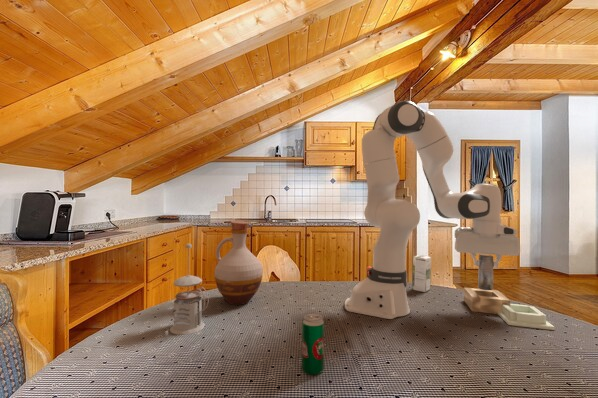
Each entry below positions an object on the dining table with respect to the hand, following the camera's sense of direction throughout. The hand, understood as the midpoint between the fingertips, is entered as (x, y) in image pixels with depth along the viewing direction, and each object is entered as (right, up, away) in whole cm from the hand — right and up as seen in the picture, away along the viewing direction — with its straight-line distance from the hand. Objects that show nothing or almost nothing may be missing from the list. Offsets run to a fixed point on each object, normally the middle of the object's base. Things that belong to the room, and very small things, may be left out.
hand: (485, 266), depth 107 cm
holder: (+5, -15, -11) cm, 19 cm away
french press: (-101, -14, -20) cm, 103 cm away
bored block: (0, -15, 0) cm, 15 cm away
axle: (0, -8, 0) cm, 8 cm away
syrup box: (-15, -15, +20) cm, 29 cm away
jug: (-92, -14, +4) cm, 93 cm away
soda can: (-65, -15, -40) cm, 78 cm away
